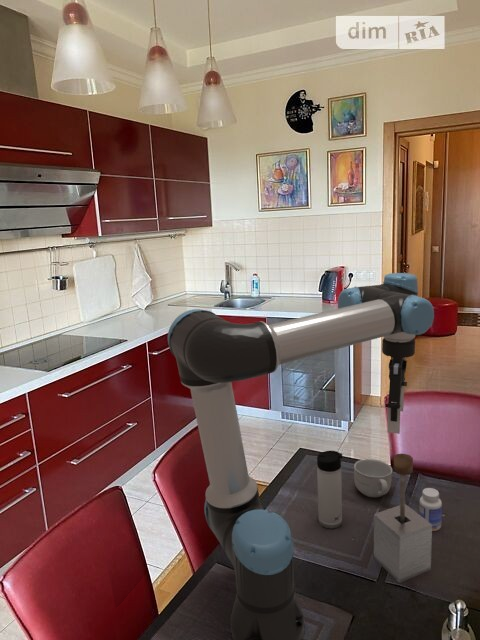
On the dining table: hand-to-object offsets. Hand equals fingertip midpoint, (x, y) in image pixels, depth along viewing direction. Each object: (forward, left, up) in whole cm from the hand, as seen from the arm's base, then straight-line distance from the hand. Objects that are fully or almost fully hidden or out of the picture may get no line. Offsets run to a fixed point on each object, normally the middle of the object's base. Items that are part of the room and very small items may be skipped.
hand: (395, 421), depth 122 cm
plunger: (-8, -12, -21) cm, 25 cm away
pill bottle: (+8, -4, -30) cm, 32 cm away
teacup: (+4, +14, -30) cm, 34 cm away
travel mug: (-14, +9, -30) cm, 34 cm away
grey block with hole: (-8, -10, -30) cm, 33 cm away
